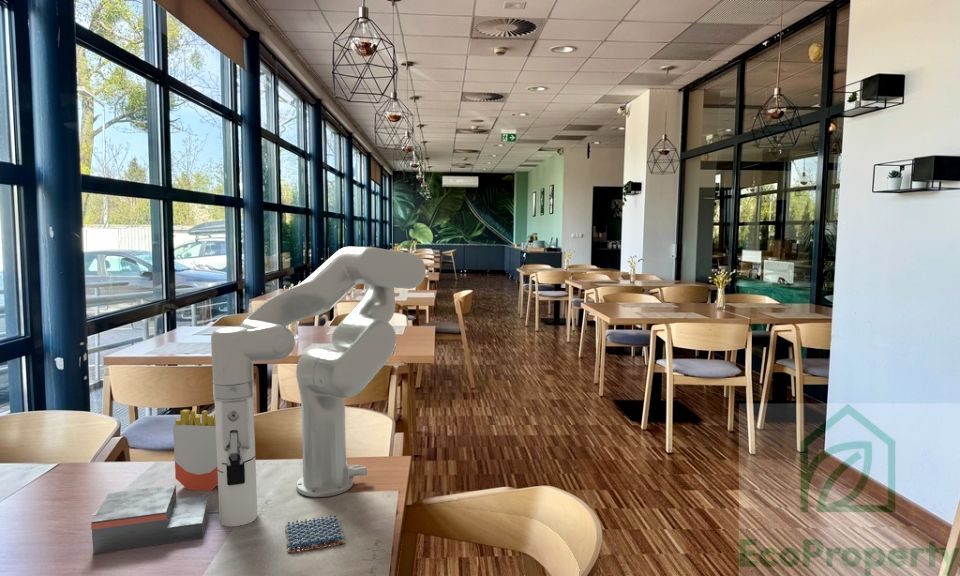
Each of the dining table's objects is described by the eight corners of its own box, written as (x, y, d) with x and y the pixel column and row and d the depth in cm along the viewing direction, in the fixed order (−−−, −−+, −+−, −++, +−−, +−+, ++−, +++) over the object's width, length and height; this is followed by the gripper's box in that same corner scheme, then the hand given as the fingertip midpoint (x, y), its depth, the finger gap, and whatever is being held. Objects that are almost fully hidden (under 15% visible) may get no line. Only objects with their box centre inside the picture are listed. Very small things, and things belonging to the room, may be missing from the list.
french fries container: (187, 481, 143) (184, 405, 141) (232, 482, 142) (229, 406, 140) (175, 489, 139) (172, 410, 137) (222, 491, 138) (219, 412, 136)
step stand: (208, 508, 129) (207, 481, 128) (202, 538, 116) (201, 508, 116) (110, 521, 123) (108, 492, 122) (92, 554, 110) (90, 522, 110)
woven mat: (338, 522, 124) (338, 512, 124) (346, 547, 114) (345, 536, 114) (284, 530, 121) (284, 520, 120) (287, 557, 111) (286, 546, 110)
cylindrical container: (244, 528, 120) (239, 402, 118) (211, 524, 122) (206, 400, 119) (264, 511, 127) (260, 393, 125) (233, 508, 129) (228, 391, 126)
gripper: (253, 399, 115) (256, 491, 117) (254, 378, 132) (257, 459, 133) (209, 403, 113) (213, 496, 114) (216, 381, 129) (220, 463, 131)
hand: (237, 475), depth 124 cm, fingers closed on cylindrical container, 7 cm apart
